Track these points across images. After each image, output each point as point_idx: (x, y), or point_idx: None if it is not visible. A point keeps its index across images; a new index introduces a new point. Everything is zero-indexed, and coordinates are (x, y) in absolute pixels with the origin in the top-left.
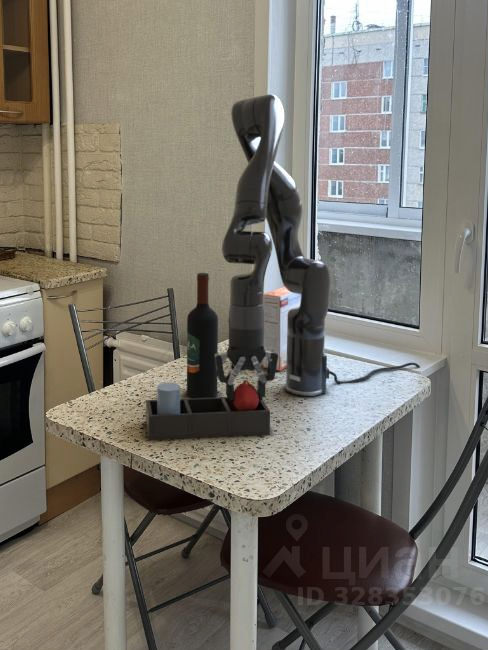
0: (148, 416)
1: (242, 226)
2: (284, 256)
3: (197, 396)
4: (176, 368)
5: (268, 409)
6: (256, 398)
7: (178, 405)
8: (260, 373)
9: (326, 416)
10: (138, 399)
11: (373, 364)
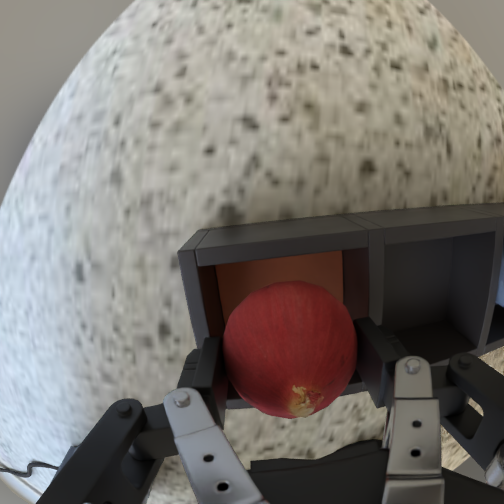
0: None
1: None
2: None
3: (378, 445)
4: None
5: (183, 271)
6: (238, 320)
7: None
8: (195, 432)
9: (47, 348)
10: (481, 408)
11: (40, 491)
